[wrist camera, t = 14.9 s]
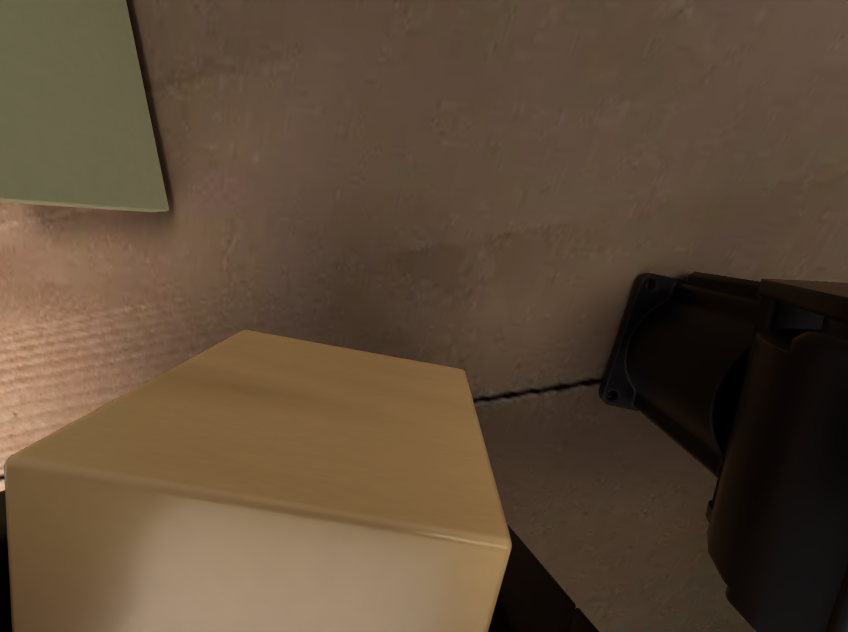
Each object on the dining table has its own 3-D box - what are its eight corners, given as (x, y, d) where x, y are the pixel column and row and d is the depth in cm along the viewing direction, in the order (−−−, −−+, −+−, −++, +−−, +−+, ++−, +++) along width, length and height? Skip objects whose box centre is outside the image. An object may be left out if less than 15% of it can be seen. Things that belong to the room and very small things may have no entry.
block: (424, 553, 10) (422, 878, 5) (225, 521, 10) (17, 821, 5) (465, 368, 9) (516, 545, 4) (243, 327, 9) (-4, 457, 4)
